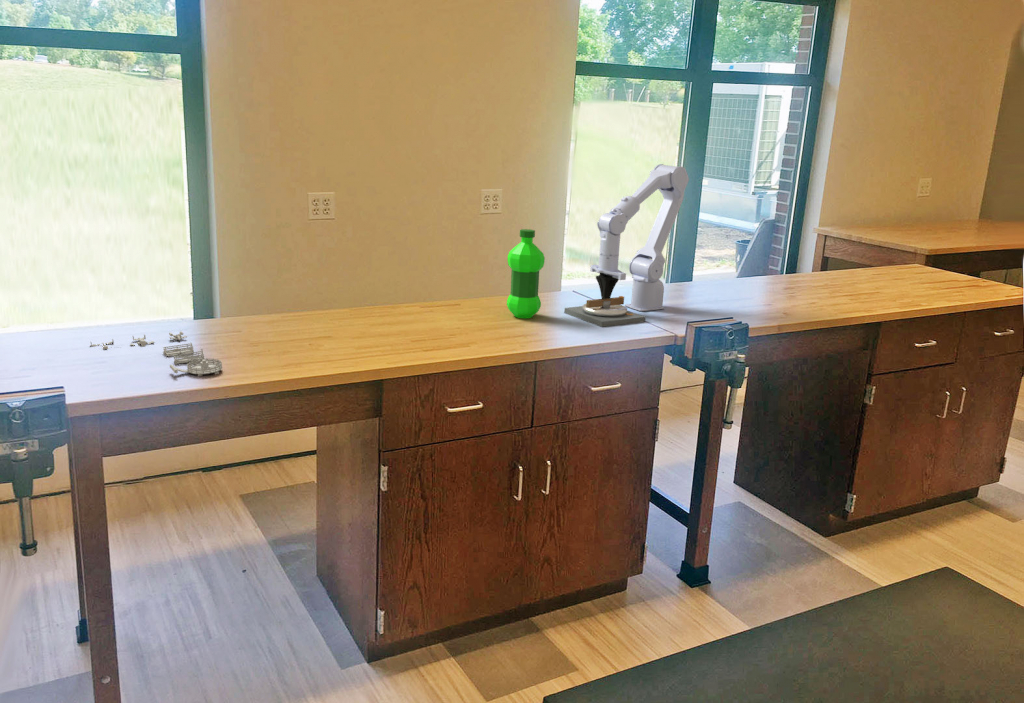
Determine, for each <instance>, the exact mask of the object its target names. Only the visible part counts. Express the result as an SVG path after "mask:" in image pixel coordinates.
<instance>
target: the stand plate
mask: <svg viewBox="0 0 1024 703" xmlns="http://www.w3.org/2000/svg"><path fill="white" fill-rule="evenodd" d="M563 313H564V314H566V315H568V316H571V317H575V318H577V319H580V320H581V321H585V322H588V323H590V324H593V325H595V326H598V327H601V328H606V327H613V326H614V327H615V326H621V325H628V324H637V323H645V322H646V316H644V315H641V314H638V313H636V312H632V311H631V310H627V314H626V315H623V316H615V317H607V316H597V315H591V314H588V313H585V312H584V311H583V305H581V306H571V307H564V312H563Z"/></svg>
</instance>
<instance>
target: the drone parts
mask: <svg viewBox="0 0 1024 703" xmlns="http://www.w3.org/2000/svg"><path fill="white" fill-rule="evenodd" d="M168 335H169V340H173V341H175V340H176V341H177V340H178V341H181V340H182V339H185V338H187V337H188V336H187V335H184V332H183V331H182V330H181V331H179V333H178V334H173V333H172V332H169V333H168ZM143 336H144V337H141V338H140V337H137V338H135V337H134V335H132V340H133V341H137V342H136V344H138V345H139V346H141V347H146V346H147V345H146V344H148V343H149V345H152V344H155V341H154V340H151V341H149V342H148V341H146V335H145V334H143ZM111 340H112V341H109V342H105V344H107V343H108V344H109V345H112V344H111V343H114V344H115V342H114V338H112V339H111ZM151 343H152V344H151ZM100 344H103V346H104V347H103V346H102V347H103V348H102V349H103V350H104V349H108V350H109V348H108V347H109V346H108V345H104V342H102V343H97V345H100ZM129 344H130V346H133V347H135V346H134V344H135V343H129ZM140 344H141V345H140ZM97 345H96V344H92V342H90V346H91V347H98V346H97ZM162 348H163V351H162V353H163V354H164V356H165V355H166V356H168V357H173V359H174V360H173V363H174V364H175V365H176V366H177V365H178V364H185V363H186V366H187V369H184V368H183V369H181V368H178V367H175V366H174V365H173V364H170V365H169V368H170V369H171V370H172V371H173V372H174V374H178V372H180V373H186V374H189V373H190V374H193V375H197V377H203V375H209V374H214V375H219V374H220V372H219V371H221V370H223V363H222V361H221V360H220V359H218V358H217V359H216V358H212V359H209V358H205V354H204V349H203V348H201V347H200V350H197V351H195V350H194V346H193V343H192V342H190V343H184V344H178V345H170V346H164V347H162ZM166 356H165V357H166Z"/></svg>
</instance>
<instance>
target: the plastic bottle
mask: <svg viewBox="0 0 1024 703" xmlns="http://www.w3.org/2000/svg"><path fill="white" fill-rule="evenodd" d="M535 236H536V230H535V229H530V228H529V229H527V228H526V229H523V228H521V229H519V237H520V238H521V242H519V243H517V244H516V246H514V247H512V249H511V250H510V251H509V252H508V254H507V264H508V266H509V268H510V270H511V277H510V279H511V280H510V294H508V297H507V300H506V307H507V310H509V312H510V313H511V314H512V315H513V316H514V317H515V318H518V319H531V318H533V316H534V315H536V314H537V313H538V312H539V311H540V309H541V307H542V301H541V299H540V297H539V287H540V285H539V284H540V271H541V270H542V269H543V268H544V265H545V256H544V253H543V252H542V250H540V248H539V247H538V246H537V245H536V244H534V242H533V241H534V240H533V239H534V238H535Z"/></svg>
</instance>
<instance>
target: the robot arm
mask: <svg viewBox="0 0 1024 703" xmlns="http://www.w3.org/2000/svg"><path fill="white" fill-rule="evenodd" d="M689 181H690V177H689V175H688V172H687V170H686V168H685V167H684V166H675V165H674V166H673V165H668V164H667V165H666V164H664V163H663V164H662V163H660V164H656V165H655V166H654V168H653V169H651V170H650V172H649V176H648V177H647V178H646V179H645V180H644V182H642V184H641V185H640V186H639V187H638V188H637V189H636V190H635V192H634V193H633V194H632V195H626V196H623V197H621V198H620V202H618V203H617V204H616V206H613V208H611V209H610V211H609V212H604V213H603V214H602V215H601V216H600V217H599V220H598V221H597V222H596V223H597V224H596V225H597V229H598V231H599V237H600V242H599V256H598V258H599V259H598V264H591V265H590V272H592V273H598V274H599V275H595V280H596V281H597V283H598V287H599V291H600V296H601V299H605V298H612V294H613V291H614V289H615V287H616V284H617V283H618V282H619V281H626V279H627V273H626V272H623V271H621V270H620V269H619V259H620V258H619V257H620V243H621V234H622V233H624V231H625V230H626V226H627V224H628V222H630V220H631V219H632V218H633V217H634V216H635V215H636V214H637V213H638V212H639V211H640V210H641V209H640V208H641V204H642V203H643V202H645V201H646V200H647V199H648V198H649V197H651V195H653V194H654V193H655V192H656V191H659V192H660V193H661V195H662V197H663V200H662V203H661V205H660V208H659V209H658V210H659V211H658V212H657V214H656V215H657V216H656V218H655V219H654V223H653V226H652V227H651V230H650V232H649V234H648V237H647V240H646V241H645V245H644V246H643V247H641V248H640V249H638V250H637V251H636V253H635V254H634V255H633V257H632V258H631V260H630V261H629V264H628V270H629V273H630V274H631V279H632V280H633V281H632V289H631V292H632V293H631V303H628V304H627V303H626V304H625V305H624V306H625V307H626V308H629V309H633V310H635V311H639V312H647V311H656V310H658V311H659V310H663V309H664V310H665V307H664V306H663V303H664V293H665V286H664V283H663V281H662V280H660V279H661V277H662V276H663V273H664V266H665V263H666V259H665V256H664V255H663V250H664V247H665V245H666V243H667V240H668V238H669V235H670V234H671V230H672V228H673V226H674V223H675V221H676V219H677V217H678V213H679V211H680V208H681V206H682V203H683V201H684V197H685V190H686V188H687V186H688V183H689Z"/></svg>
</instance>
